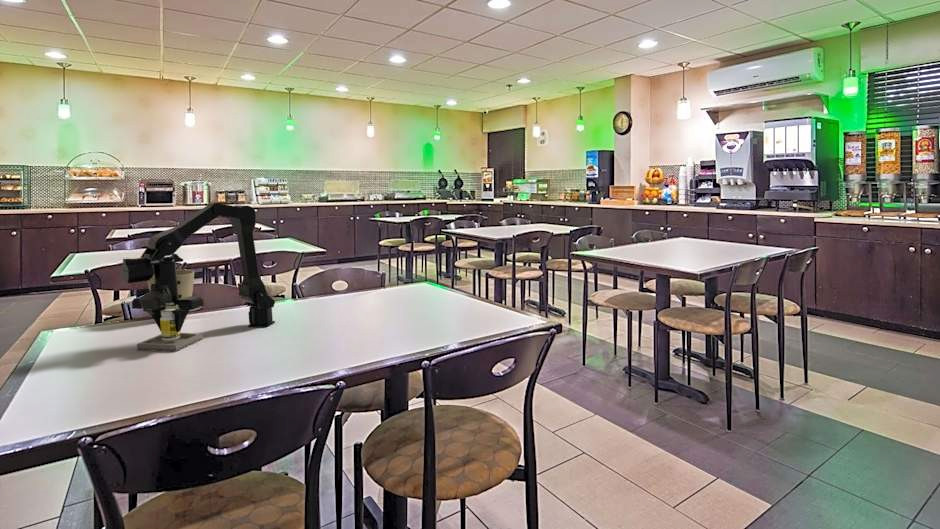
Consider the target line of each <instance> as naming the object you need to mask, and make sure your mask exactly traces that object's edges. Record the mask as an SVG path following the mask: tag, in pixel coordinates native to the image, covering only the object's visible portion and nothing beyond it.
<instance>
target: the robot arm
mask: <svg viewBox="0 0 940 529" xmlns="http://www.w3.org/2000/svg"><path fill="white" fill-rule="evenodd" d="M218 217H220V218H227V219H228V220H229V222H230V225H231V227H232V229H233V230H234V232H235V234H236V236H237V244H238V250H239V257H240V262H241V269H242V271H241V272H242V276H243V277H242V281H241V282H238V283H237V288H238V296H240V298H241V299H242V301H244V302H245V303H246V306H247V307H249V309H248V310H249V311H248V322H249V324H247V327H249V328H268V327H269V326H271V325H273V324H275V323H276V321H275V320H273V308H274V306H275V304H276V300H274V299H273V298H272V297H271V296H269V294H268V291H267V289H266V285H265V283H264V282H263V280H262V279H261V277H260V273H259V272H260V271H259V266H258V265H259V264H258V259H257V251H256V247H255V246H256V245H255V240H254V239H255V238H254V231H255V227H256V222H257V220H256V218H257V212H256V210H255V208H253V207H252V206H250V205H243V204H242V205H240V204H237V205H229V204H224V203H221V202H213V201H211V202H209V203H208V204H207V205H206V206H204V207H203V208H201V209H200V210H198V211H197V212H195V213H193V215H190V217H188V218H187V219H185V220H183V221H182V222H180V223H179V224H178V225H176V226H174V227H172V228H169V229H166V230H162V231H161V232H159V233H156V234H154V235H152V236H151V237H149V239H148V240H147V247H146V248H145V250H144V252H143V253H142V254H141V256H140V257H135V258H122V264H121V270H120V275H121V280H122V282H123V283H124V284H125V285H127V284H128V285H129V284H136V283H143V282H147V281H149V280H150V278H153V275H154V283H153V284H151V290H149V291H147V292H146V293H144V294H143V295H142V296H141V295H140V296H138V297H134V298H133V300H132V301H131V308H132V310H133V309H134V310H137V309H139V310H142V311H143V312H145V313H148V314H149V315H151V316H152V318H153V320H154V322H155V323H156V326H157V327H158V329H159V331H160V332H161V325H160V318H161V317H162V316H161V311H162V310H166V306H176V309H175V310H172V311H171V312H172V313H173V314H174V315H175V325H176V331H177V332H180V333H181V330H182V328H183V325H184V322H185V320H186V318H187V315H189V312H190V311H193V310H196V309H198V308H201V307H204V305H205V304H204V299H203V298H202V297H201V296H194V295H192V296H189V297H186V298H183V299H179V298H182V296H181V294H178V284H180V281H179V280H177V274H176V270H177V266H176V265H177V264H176V263H181V262H184V259H183V258H181V257H180V256H179V255H178V254H177V253H176V252H177V251H178V250H179V249H180V248H181V247H182V246H183V244H184V243H185V241H186V240H187V239H188V238H189V237H190V236H192V235H194V234H195V233H197V232H198V231H199V230H201V229H203V228H204V227H205V226H206V225H208V224H209V223H211V222H213V221H214V220H215V219H217V218H218ZM170 302H173V303H170Z"/></svg>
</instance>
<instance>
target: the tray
mask: <svg viewBox="0 0 940 529" xmlns="http://www.w3.org/2000/svg"><path fill="white" fill-rule="evenodd" d="M203 337H204V335H203V333H196V332H180V338H178V339H175V340H162V337H161V334H158V335H156V336H154V337H151V338H149V339H146V340H143V341H141V342H138V343H136V348H137V351H149V350H167V351H166V352H174V351H177V350H179V351H181V350H183V349H185V348H187V347H186V346H188V345H190V346H192V345H194V344H196V343H198V342H197V341H199V342H201V341H203V340H204V338H203ZM202 339H203V340H202ZM200 340H201V341H200ZM195 342H196V343H195ZM193 343H194V344H193ZM191 344H192V345H191ZM184 347H185V348H184ZM188 347H189V346H188ZM182 348H183V349H182ZM180 349H181V350H180ZM177 352H178V351H177Z"/></svg>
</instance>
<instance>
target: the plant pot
mask: <svg viewBox="0 0 940 529" xmlns="http://www.w3.org/2000/svg"><path fill="white" fill-rule="evenodd" d="M176 274H177V280H179V281H180V284H178V294H181V296H182V298H179V299H183V298H186V297H189V296H193V289H194V283H195V282H194V281H195V270H193V269H176ZM146 282H147V286H148V290H149V291H150V290H151V284H153V283H154V275H153V278H150V280H149V281H146ZM170 303H173V302H170ZM166 309H176V306H166Z"/></svg>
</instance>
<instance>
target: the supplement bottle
mask: <svg viewBox="0 0 940 529" xmlns="http://www.w3.org/2000/svg"><path fill="white" fill-rule="evenodd" d="M172 310H175V309H166V310H162V311H161V316H162V317H161V318H160V325H161V331H160V335H161V337H162V340H175V339H178V338H180V333H181V331H180V332H177V331H176V325H175V315H174V314H173V313H172V312H171V311H172Z"/></svg>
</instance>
